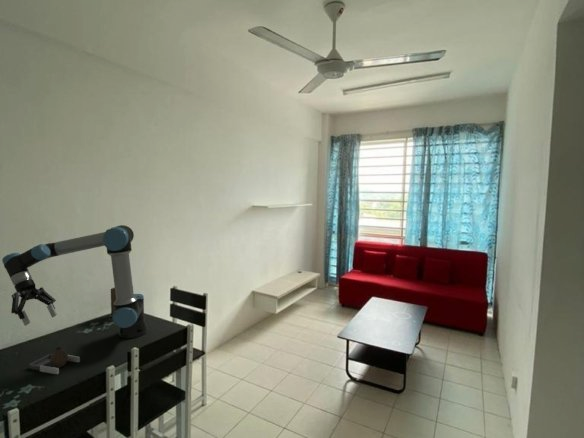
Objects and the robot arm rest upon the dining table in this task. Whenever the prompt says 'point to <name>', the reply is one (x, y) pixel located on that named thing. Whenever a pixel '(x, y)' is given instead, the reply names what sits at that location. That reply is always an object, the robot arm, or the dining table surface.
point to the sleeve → (56, 370)
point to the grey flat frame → (40, 363)
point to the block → (112, 300)
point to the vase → (58, 358)
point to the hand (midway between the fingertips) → (41, 320)
